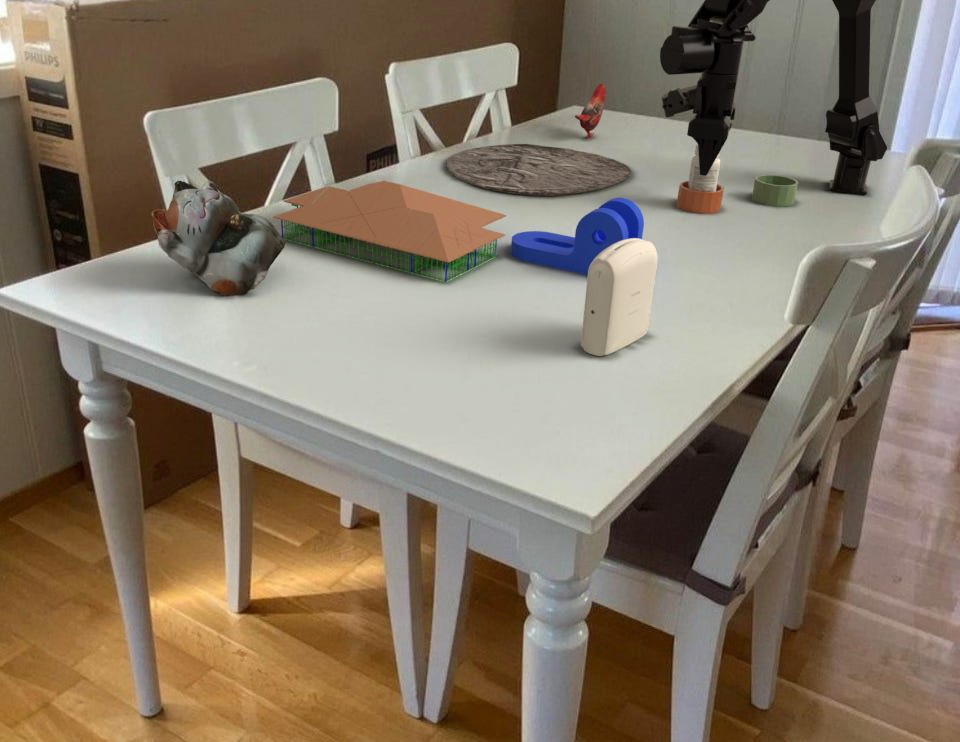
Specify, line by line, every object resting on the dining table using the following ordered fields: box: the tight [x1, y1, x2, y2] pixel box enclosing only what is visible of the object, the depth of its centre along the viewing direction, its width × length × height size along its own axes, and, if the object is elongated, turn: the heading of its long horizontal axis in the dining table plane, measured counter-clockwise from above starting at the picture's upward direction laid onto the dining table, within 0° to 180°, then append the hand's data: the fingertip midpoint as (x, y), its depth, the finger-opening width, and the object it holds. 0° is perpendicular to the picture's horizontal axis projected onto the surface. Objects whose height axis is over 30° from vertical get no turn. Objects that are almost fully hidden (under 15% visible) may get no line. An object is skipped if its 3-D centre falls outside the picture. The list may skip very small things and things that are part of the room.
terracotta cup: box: [676, 180, 725, 214], centre depth 172 cm, size 7×7×4 cm
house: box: [272, 180, 507, 283], centre depth 149 cm, size 23×33×8 cm
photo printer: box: [580, 238, 659, 357], centre depth 119 cm, size 10×4×12 cm, turn 140°
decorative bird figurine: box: [574, 83, 607, 140], centre depth 209 cm, size 3×18×10 cm, turn 156°
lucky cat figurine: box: [150, 180, 287, 297], centre depth 131 cm, size 15×12×14 cm
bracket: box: [510, 197, 645, 276], centre depth 145 cm, size 18×8×9 cm, turn 63°
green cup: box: [751, 174, 799, 207], centre depth 178 cm, size 7×7×4 cm
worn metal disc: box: [445, 143, 632, 197], centre depth 189 cm, size 33×35×1 cm
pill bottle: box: [688, 143, 721, 192], centre depth 170 cm, size 5×5×8 cm
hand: (704, 171), depth 170 cm, fingers closed on pill bottle, 5 cm apart
